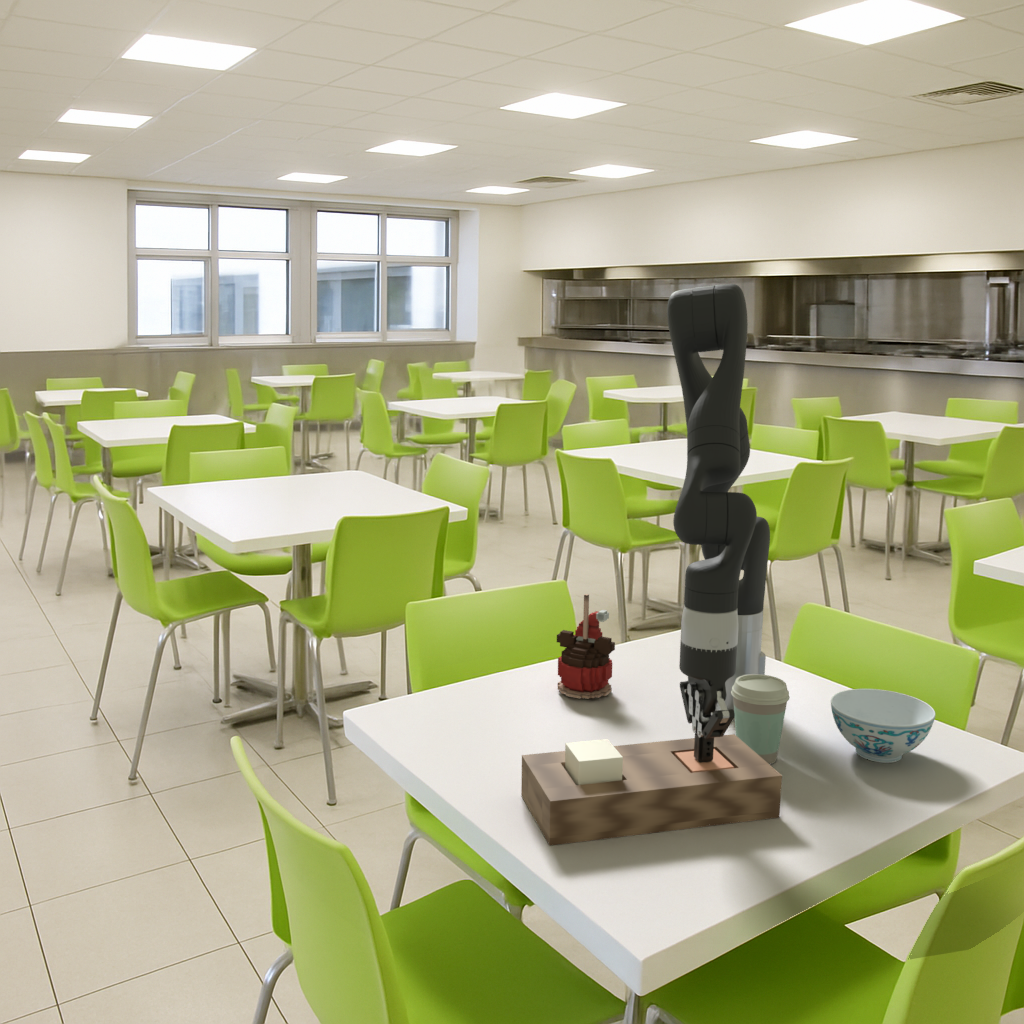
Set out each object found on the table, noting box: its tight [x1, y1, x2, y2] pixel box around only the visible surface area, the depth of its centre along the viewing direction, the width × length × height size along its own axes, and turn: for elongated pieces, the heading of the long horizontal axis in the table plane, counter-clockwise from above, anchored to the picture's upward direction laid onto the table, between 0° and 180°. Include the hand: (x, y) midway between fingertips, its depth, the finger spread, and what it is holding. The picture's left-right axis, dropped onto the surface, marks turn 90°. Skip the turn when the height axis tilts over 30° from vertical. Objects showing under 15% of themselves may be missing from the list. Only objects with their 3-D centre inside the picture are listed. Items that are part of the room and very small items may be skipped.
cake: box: [556, 593, 616, 700], centre depth 179 cm, size 11×9×18 cm
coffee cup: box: [731, 674, 790, 765], centre depth 153 cm, size 8×8×12 cm
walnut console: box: [521, 733, 783, 846], centre depth 138 cm, size 32×14×6 cm, turn 104°
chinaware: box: [830, 688, 936, 764], centre depth 155 cm, size 15×15×8 cm
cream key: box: [564, 738, 623, 785], centre depth 135 cm, size 6×6×4 cm
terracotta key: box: [675, 749, 734, 773], centre depth 139 cm, size 6×6×4 cm
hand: (703, 759), depth 139 cm, fingers closed
